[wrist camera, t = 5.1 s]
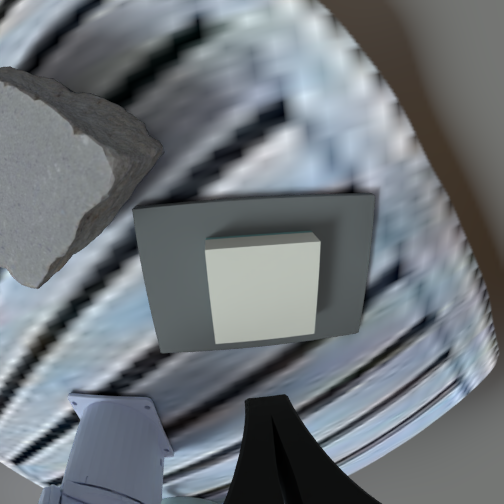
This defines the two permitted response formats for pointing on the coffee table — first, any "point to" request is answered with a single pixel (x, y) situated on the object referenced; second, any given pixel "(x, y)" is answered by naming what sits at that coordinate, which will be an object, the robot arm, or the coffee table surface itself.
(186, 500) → the mug
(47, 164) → the decorative stone
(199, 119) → the coffee table surface
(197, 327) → the mat
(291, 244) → the tile
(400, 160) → the coffee table surface
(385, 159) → the coffee table surface
